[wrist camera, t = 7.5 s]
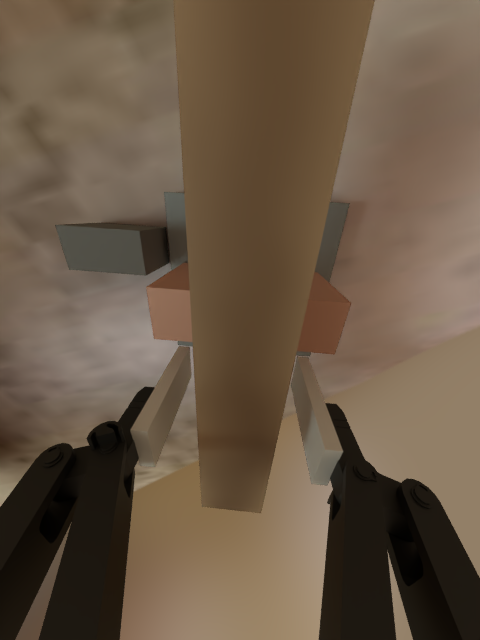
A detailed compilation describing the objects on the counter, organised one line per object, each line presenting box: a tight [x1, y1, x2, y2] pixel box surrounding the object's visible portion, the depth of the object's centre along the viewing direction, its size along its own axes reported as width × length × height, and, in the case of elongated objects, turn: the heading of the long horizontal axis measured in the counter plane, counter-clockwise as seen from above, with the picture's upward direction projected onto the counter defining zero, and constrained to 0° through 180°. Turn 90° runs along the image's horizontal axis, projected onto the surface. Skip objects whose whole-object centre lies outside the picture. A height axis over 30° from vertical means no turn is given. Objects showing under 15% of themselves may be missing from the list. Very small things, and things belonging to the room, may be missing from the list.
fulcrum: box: [146, 192, 351, 356], centre depth 14 cm, size 12×12×7 cm
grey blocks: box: [55, 223, 169, 275], centre depth 10 cm, size 5×22×4 cm, turn 177°
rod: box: [173, 0, 375, 513], centre depth 9 cm, size 4×22×4 cm, turn 177°
